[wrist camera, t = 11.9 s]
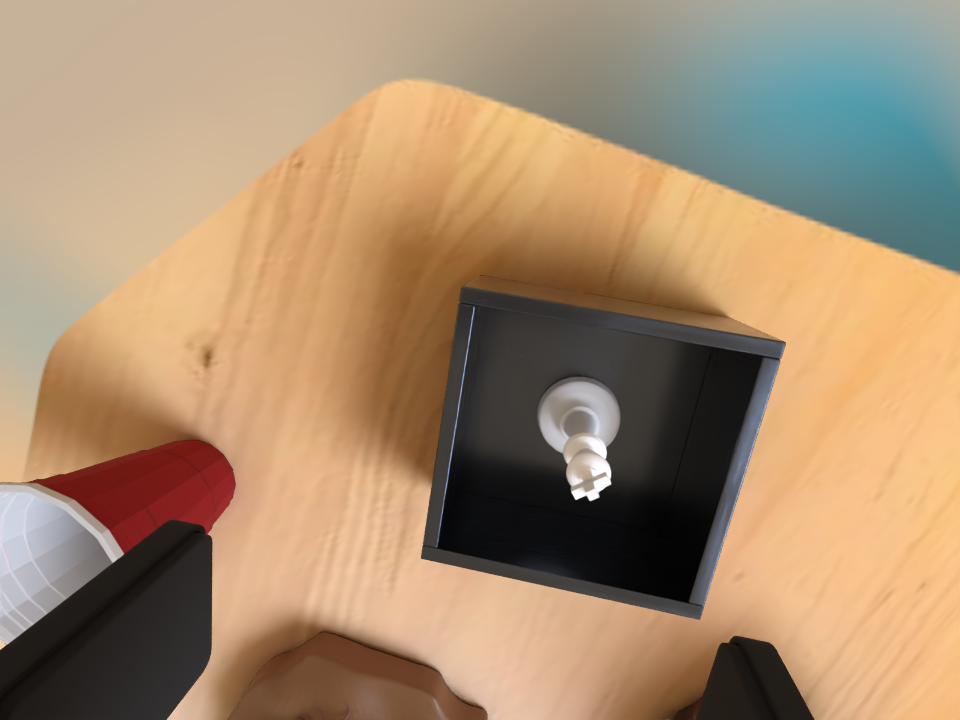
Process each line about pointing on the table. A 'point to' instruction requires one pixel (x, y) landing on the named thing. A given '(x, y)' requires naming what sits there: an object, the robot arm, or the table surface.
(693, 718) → the lucky cat figurine
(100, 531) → the plastic cup
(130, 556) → the robot arm
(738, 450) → the dark grey open box
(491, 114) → the table surface
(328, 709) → the plant
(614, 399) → the chess piece
